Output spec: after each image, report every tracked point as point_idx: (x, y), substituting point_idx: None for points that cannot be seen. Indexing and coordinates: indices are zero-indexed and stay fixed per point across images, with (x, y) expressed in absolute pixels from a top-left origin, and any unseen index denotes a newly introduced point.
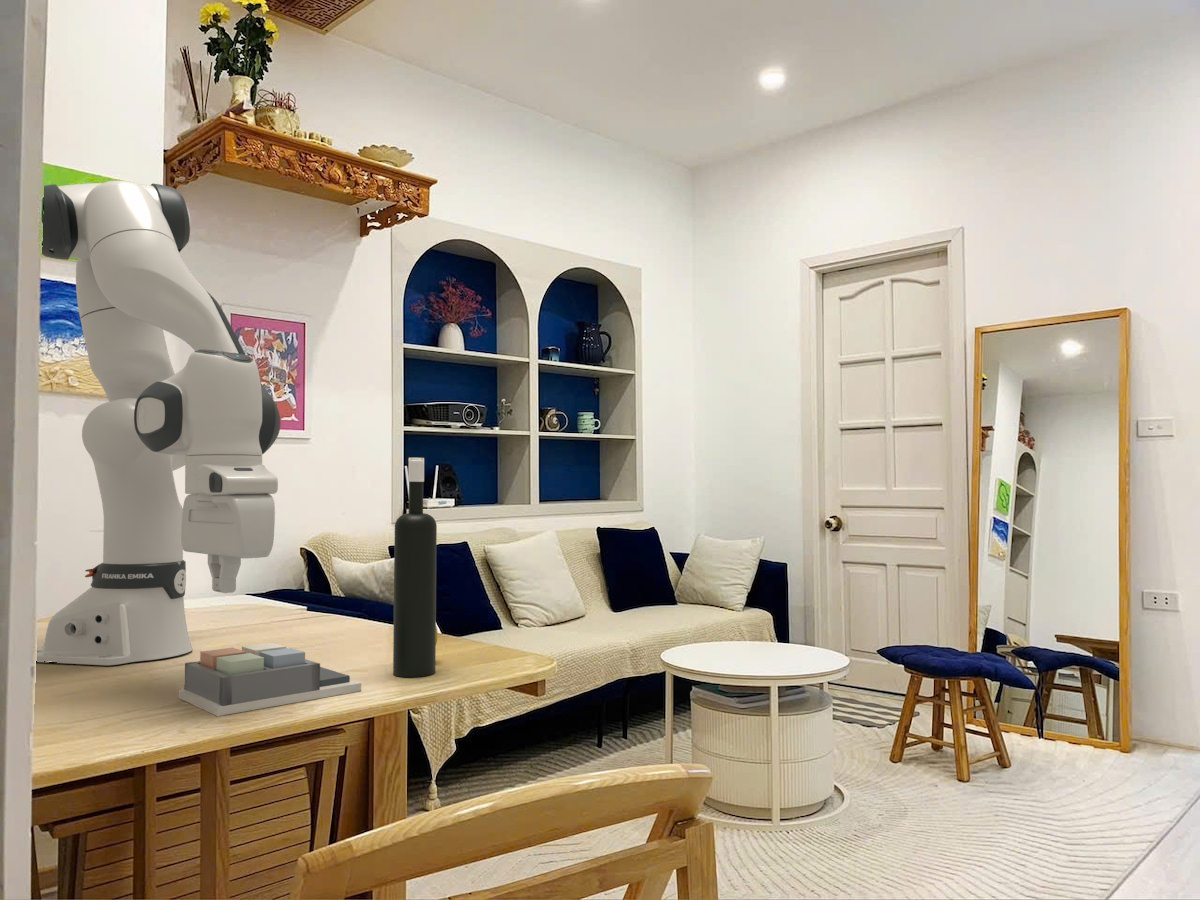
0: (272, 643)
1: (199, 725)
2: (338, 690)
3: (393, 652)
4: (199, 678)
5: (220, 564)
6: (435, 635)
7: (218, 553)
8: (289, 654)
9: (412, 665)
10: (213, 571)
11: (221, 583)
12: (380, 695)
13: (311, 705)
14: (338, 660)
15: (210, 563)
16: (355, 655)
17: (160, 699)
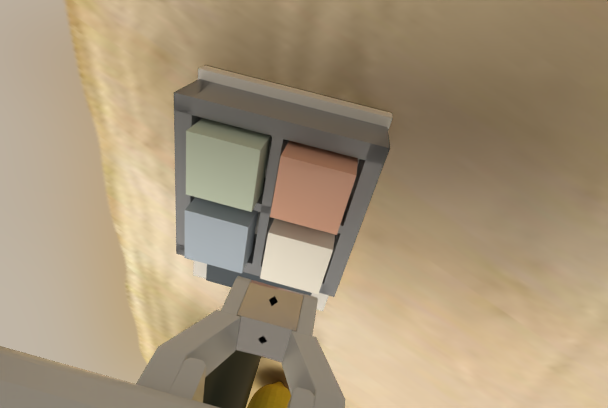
0: (309, 289)
1: (167, 3)
2: None
3: (239, 363)
4: (305, 118)
5: (193, 359)
6: None
7: (111, 386)
8: (185, 234)
9: None
10: (298, 355)
11: (227, 297)
12: (160, 261)
13: (170, 188)
14: (386, 372)
15: (316, 392)
16: (390, 395)
17: (419, 87)
